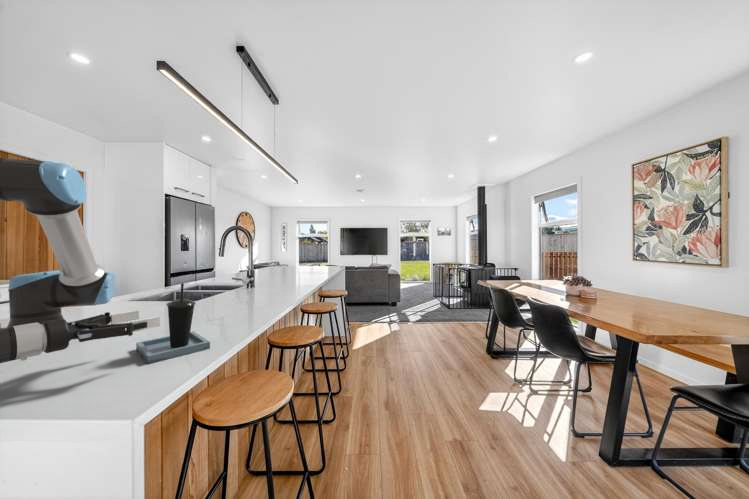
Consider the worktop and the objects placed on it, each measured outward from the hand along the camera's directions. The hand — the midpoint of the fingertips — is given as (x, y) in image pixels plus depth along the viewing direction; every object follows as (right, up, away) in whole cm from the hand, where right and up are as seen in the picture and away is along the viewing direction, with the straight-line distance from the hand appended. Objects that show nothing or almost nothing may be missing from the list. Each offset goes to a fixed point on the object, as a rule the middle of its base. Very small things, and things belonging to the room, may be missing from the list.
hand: (148, 317), depth 87 cm
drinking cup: (+4, -11, +7) cm, 14 cm away
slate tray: (+3, -11, +6) cm, 13 cm away
